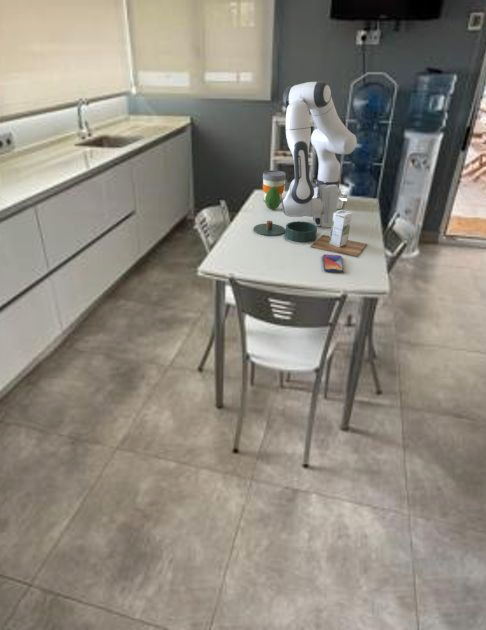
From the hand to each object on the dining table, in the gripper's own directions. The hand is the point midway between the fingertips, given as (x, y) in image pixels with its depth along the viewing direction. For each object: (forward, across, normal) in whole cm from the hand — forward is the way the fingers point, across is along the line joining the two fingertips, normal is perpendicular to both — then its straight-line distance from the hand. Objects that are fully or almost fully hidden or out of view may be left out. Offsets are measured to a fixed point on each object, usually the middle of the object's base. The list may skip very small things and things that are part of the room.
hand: (346, 206), depth 212 cm
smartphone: (-13, +14, +43) cm, 48 cm away
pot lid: (-37, +8, +9) cm, 39 cm away
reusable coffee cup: (-32, +3, -38) cm, 50 cm away
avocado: (-34, +5, -23) cm, 41 cm away
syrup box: (-8, +12, +24) cm, 28 cm away
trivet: (-7, +12, +24) cm, 28 cm away
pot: (-23, +10, +16) cm, 30 cm away
